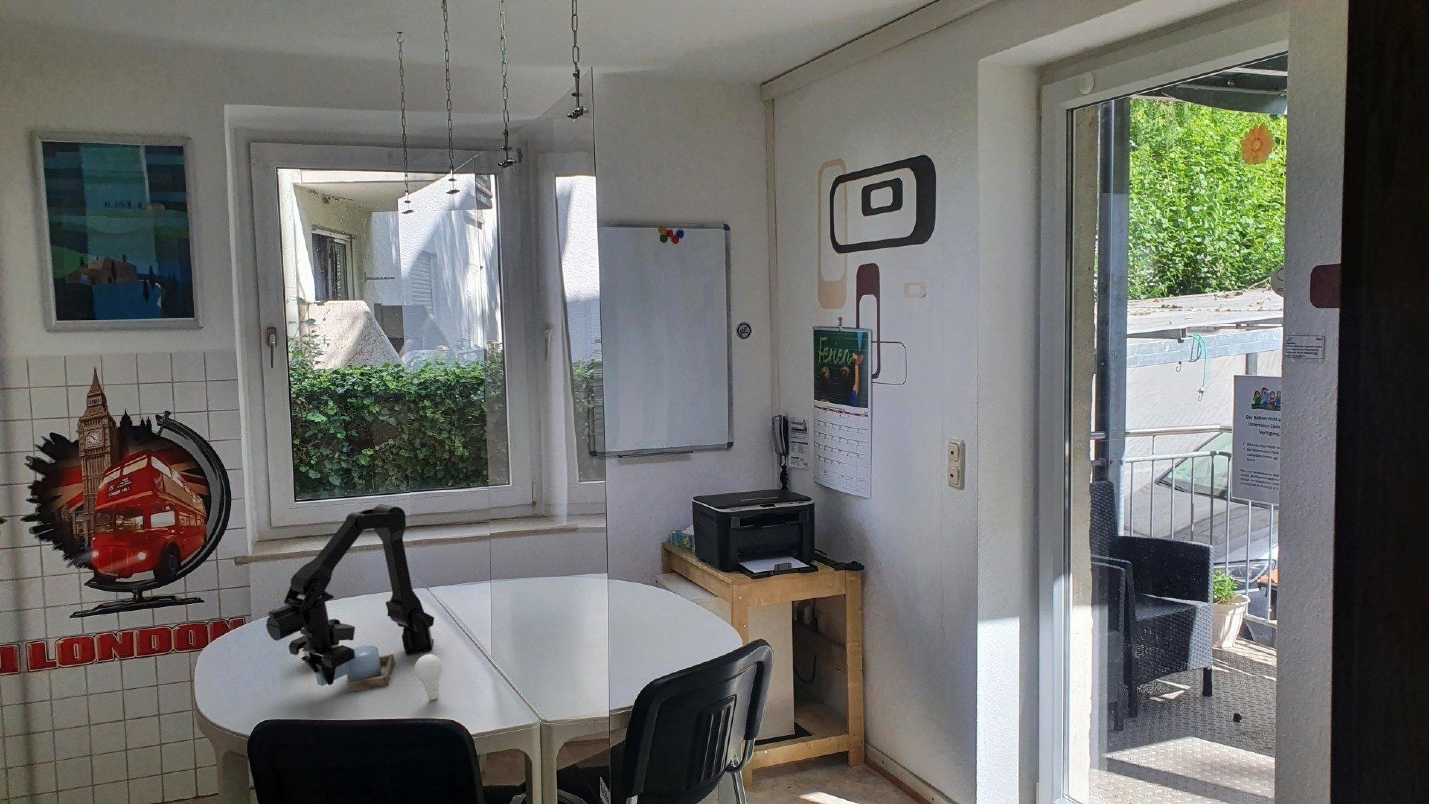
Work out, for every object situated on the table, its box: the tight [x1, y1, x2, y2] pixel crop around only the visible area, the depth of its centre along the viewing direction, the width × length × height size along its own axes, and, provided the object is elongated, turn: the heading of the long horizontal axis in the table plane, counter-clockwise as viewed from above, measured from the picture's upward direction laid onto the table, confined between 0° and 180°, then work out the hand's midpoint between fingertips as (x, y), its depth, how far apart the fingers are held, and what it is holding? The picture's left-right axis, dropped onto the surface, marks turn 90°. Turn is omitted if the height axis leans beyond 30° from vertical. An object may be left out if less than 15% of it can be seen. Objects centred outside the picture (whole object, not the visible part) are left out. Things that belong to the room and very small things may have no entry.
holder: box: [348, 653, 396, 693], centre depth 238 cm, size 9×13×2 cm
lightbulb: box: [414, 653, 443, 701], centre depth 222 cm, size 6×6×11 cm
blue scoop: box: [314, 644, 383, 687], centre depth 235 cm, size 16×8×6 cm, turn 142°
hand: (327, 683), depth 230 cm, fingers closed on blue scoop, 2 cm apart
